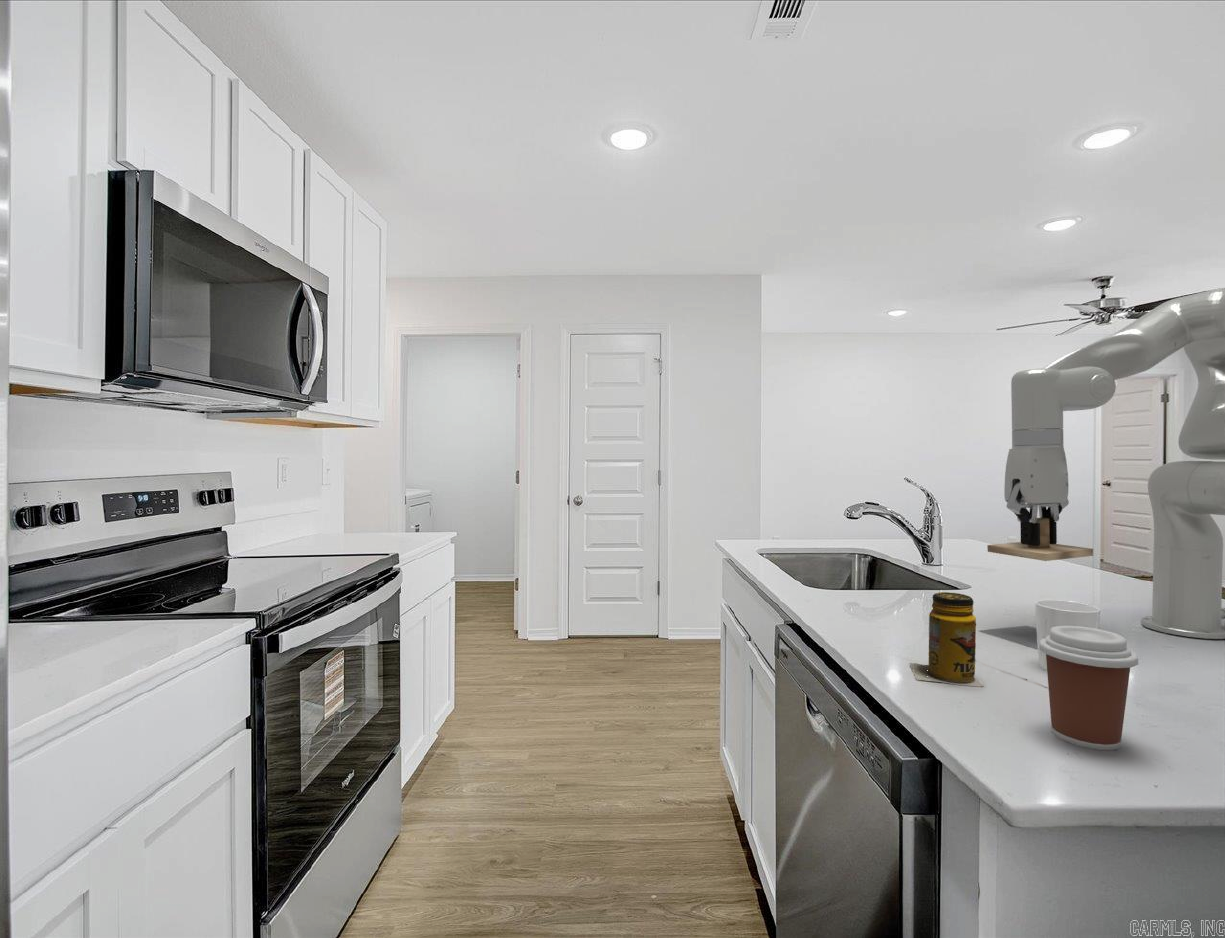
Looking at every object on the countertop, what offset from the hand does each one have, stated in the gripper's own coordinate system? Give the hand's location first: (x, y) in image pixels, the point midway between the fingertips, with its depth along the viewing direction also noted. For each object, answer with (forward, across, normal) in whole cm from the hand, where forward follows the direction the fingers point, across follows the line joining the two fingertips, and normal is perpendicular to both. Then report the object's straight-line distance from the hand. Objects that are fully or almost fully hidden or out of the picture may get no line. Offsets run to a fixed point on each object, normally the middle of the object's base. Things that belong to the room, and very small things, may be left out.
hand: (1038, 543), depth 111 cm
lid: (+2, 0, 0) cm, 2 cm away
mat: (+17, +1, 0) cm, 17 cm away
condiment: (+16, +31, +10) cm, 37 cm away
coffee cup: (+16, +32, +31) cm, 48 cm away
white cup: (+17, +12, +14) cm, 25 cm away
